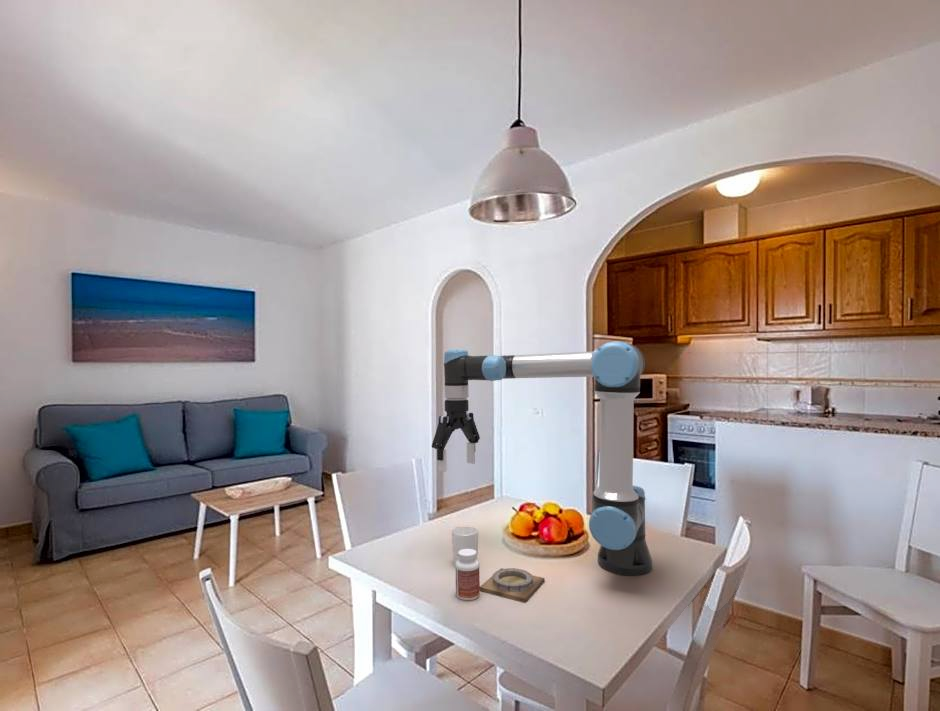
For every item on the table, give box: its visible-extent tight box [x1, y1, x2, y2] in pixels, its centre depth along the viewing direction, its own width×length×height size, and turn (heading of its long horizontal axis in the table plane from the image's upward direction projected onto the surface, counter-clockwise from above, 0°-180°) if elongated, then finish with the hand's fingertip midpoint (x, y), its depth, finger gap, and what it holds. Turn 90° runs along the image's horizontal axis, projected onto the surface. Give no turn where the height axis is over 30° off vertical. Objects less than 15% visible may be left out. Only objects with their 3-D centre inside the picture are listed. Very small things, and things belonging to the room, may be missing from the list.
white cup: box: [451, 525, 479, 566], centre depth 144 cm, size 8×8×10 cm
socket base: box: [480, 567, 546, 603], centre depth 129 cm, size 13×13×2 cm
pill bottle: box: [454, 549, 481, 601], centre depth 125 cm, size 6×6×11 cm
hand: (457, 467), depth 152 cm, fingers open, 13 cm apart
